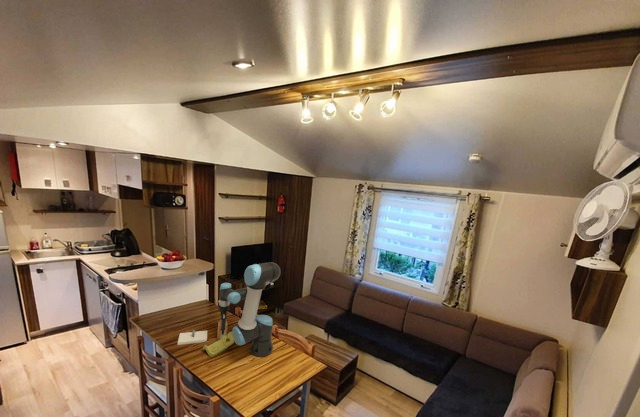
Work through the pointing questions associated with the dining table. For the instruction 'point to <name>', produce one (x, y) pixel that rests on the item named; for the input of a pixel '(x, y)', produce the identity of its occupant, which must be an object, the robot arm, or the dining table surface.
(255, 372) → the dining table surface
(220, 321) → the jaw
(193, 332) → the white board with peg
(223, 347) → the plastic component
